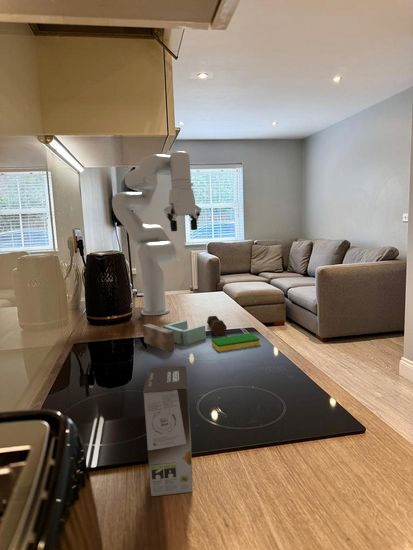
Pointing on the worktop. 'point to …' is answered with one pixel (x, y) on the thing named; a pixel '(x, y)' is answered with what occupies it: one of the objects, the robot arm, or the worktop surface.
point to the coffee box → (168, 430)
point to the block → (186, 332)
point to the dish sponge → (235, 342)
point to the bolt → (216, 325)
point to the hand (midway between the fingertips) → (184, 230)
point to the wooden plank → (159, 337)
